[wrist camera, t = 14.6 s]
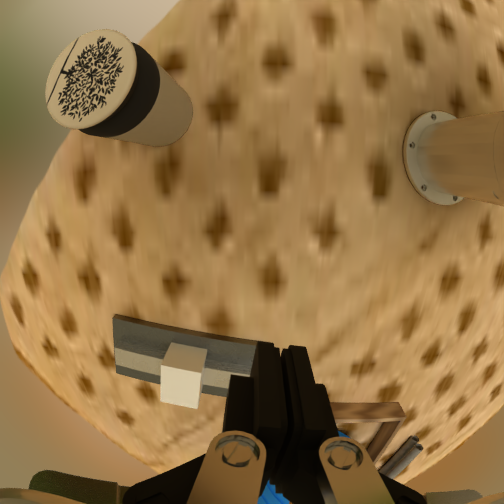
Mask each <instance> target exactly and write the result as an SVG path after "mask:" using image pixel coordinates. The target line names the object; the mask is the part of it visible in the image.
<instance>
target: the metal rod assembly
mask: <svg viewBox="0 0 504 504" xmlns="http://www.w3.org/2000/svg"><path fill="white" fill-rule="evenodd" d="M418 441H419V439H418V437H417V436H414V437H413V438H412V436H411V438H410V439H409V440H408V441H407V442H406V443H405V444H404V445H403V446H402V448H401V449H400V450H399V451H398V452H397V453H396V454H395V455H394V456H393V457H392V458H391V459H390V460H389V461H388V462H387V463H386V464H385V465H384V466H383V467H382V468H381V469H380V470H379V471H378V472H380V473H382V474H384V475H386V476H387V477H389V478H391V479H394V478H395V477H396V476H397V475H398V474H399V473H400V472H401V471H402V470H403V469H404V468H405V467H406V466H407V465H408V464H409V463H410V462H411V461H412V460H413V459H414V458H415V457H416V456H417V455H418V454H419V453H420V452H421V451H422V450H423V447H422V445H421V444H417V442H418ZM404 456H405V457H404Z"/></svg>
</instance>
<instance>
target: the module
mask: <svg viewBox="0 0 504 504" xmlns="http://www.w3.org/2000/svg"><path fill="white" fill-rule="evenodd" d="M206 355H207V349H203V348H198V347H193V346H187V345H182V344H177V343H173V342H171V344H170V346H169V348H168V350H167V352H166V355H165V357H164V359H163V361H162V363H161V401H162V402H166V403H171V404H175V405H180V406H185V407H190V408H195V409H198V405H199V401H200V396H201V392H202V388H203V384H202V380H203V371H204V363H205V359H206Z"/></svg>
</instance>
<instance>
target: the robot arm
mask: <svg viewBox="0 0 504 504" xmlns="http://www.w3.org/2000/svg"><path fill="white" fill-rule="evenodd" d="M409 144H410V146H409ZM403 157H404V164H405V168H406V172H407V175H408V177H409V179H410V181H411V183H412V185H413V186H414V188H415V189H416V191H417V192H418V193H419V194H420V195H421V196H422V197H424V198H425V199H427V200H428V201H430V202H432V203H435V204H439V205H453V204H456V203H458V202H460V201H461V200H463V199H464V198H469V199H474V200H479V201H483V202H487V203H492V204H496V205H500V206H504V111H501V112H494V113H487V114H481V115H475V116H469V117H463V118H456V117H455V116H453V115H451V114H449V113H446V112H444V111H432V112H428V113H424V114H422V115H421V116H419V117H417V118H416V119H415V120H414V122H413V123H412V124H411V126H410V127H409V129H408V131H407V134H406V136H405V141H404V149H403ZM421 186H422V189H421ZM268 480H269V483H270V485H275V493H278V494H283V497H284V498H286V499H287V500H288V501H290V502H289V504H504V492H500V493H496V494H493V495H489V496H486V497H482V495H481V494H480V493H478V492H477V491H475V490H460V491H449V492H431V493H425V494H424V495H423V496H422V495H421V494H419V493H418V492H417V491H415V490H412V489H411V488H409V487H406V486H405V485H403V484H401V483H399V482H397V481H395V480H393V479H391V478H389V477H387V476H386V475H384V474H382V473H380V472H378V471H377V469H376V467H375V465H374V463H373V462H372V460H371V458H370V456H369V454H368V452H367V451H366V449H365V448H364V447H363V445H361V444H360V443H359V442H357V441H355V440H353V439H351V438H347V437H339V433H338V430H337V426H336V422H335V419H334V415H333V412H332V408H331V405H330V401H329V398H328V394H327V391H326V388H325V385H323V384H315V380H314V376H313V372H312V368H311V364H310V361H309V357H308V353H307V349H306V347H303V346H294V345H290V346H289V347H288V349H285V348H283V350H282V353H281V357H280V350H279V348H276V347H274V343H270V342H262V341H257V345H256V349H255V354H254V359H253V364H252V368H251V373H250V377H247V376H240V375H233V374H231V375H230V381H229V387H228V393H227V399H226V406H225V413H224V422H223V430H222V433H220V434H218V435H217V436H216V437H214V438H213V440H212V441H211V443H210V445H209V447H208V450H207V453H206V454H204V455H202V456H199V457H197V458H195V459H193V460H191V461H189V462H187V463H185V464H182V465H180V466H178V467H176V468H174V469H171V470H169V471H167V472H164V473H162V474H159V475H157V476H155V477H152V478H150V479H147V480H145V481H142V482H139V483H137V484H135V485H133V486H131V487H127V486H119V485H118V483H117V482H110V481H103V480H97V479H90V478H85V477H80V476H75V475H71V474H66V473H62V472H58V471H53V470H44V471H40V472H38V473H36V474H35V475H34V476H33V477H32V479H31V481H30V485H29V489H21V488H0V504H257V502H258V498H259V497H260V496H262V494H263V491H264V489H265V487H266V485H267V482H268Z"/></svg>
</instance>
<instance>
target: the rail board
mask: <svg viewBox="0 0 504 504" xmlns="http://www.w3.org/2000/svg"><path fill="white" fill-rule="evenodd" d="M113 337H114V352H115V364H116V373H118V374H121V375H125V376H129V377H132V378H136V379H140V380H144V381H148V382H152V383H156V384H161V363H162V361H163V359H164V357H165V355H166V352H167V350H168V348H169V346H170V344H171V342H173V343H177V344H182V345H187V346H193V347H198V348H203V349H207V355H206V359H205V363H204V371H203V380H202V384H203V388H202V392H201V393H205V394H211V395H217V396H223V397H227V393H228V387H229V381H230V375H231V374H233V375H240V376H247V377H250V373H251V368H252V364H253V359H254V354H255V349H256V345H257V341H253V340H246V339H239V338H233V337H227V336H221V335H215V334H209V333H203V332H198V331H192V330H187V329H182V328H177V327H172V326H167V325H162V324H157V323H152V322H148V321H143V320H139V319H134V318H130V317H126V316H122V315H118V314H116V315H115V316H114V317H113Z"/></svg>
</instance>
